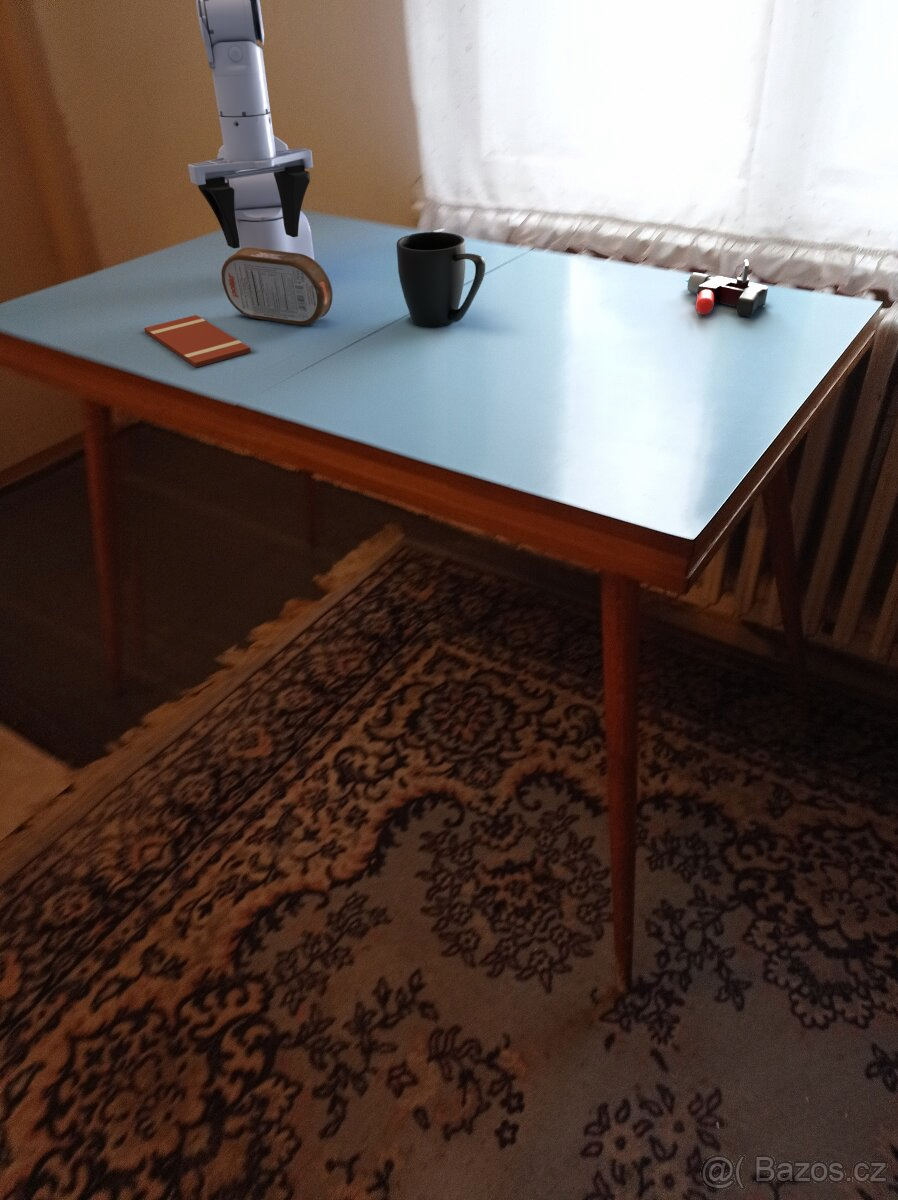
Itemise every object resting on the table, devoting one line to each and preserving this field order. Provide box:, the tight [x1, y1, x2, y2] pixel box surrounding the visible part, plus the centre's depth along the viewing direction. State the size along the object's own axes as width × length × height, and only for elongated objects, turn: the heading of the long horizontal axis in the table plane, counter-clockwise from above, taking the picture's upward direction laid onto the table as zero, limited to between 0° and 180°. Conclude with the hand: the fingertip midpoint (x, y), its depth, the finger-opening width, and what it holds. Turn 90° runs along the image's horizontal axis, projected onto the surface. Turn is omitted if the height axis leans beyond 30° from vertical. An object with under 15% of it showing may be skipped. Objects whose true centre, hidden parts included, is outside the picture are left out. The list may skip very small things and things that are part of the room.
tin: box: [220, 247, 334, 326], centre depth 113 cm, size 15×3×8 cm, turn 65°
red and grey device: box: [684, 258, 769, 317], centre depth 113 cm, size 10×12×5 cm
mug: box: [396, 231, 486, 328], centre depth 110 cm, size 8×12×10 cm
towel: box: [143, 314, 252, 368], centre depth 110 cm, size 7×15×1 cm, turn 37°
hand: (263, 241), depth 109 cm, fingers open, 7 cm apart
